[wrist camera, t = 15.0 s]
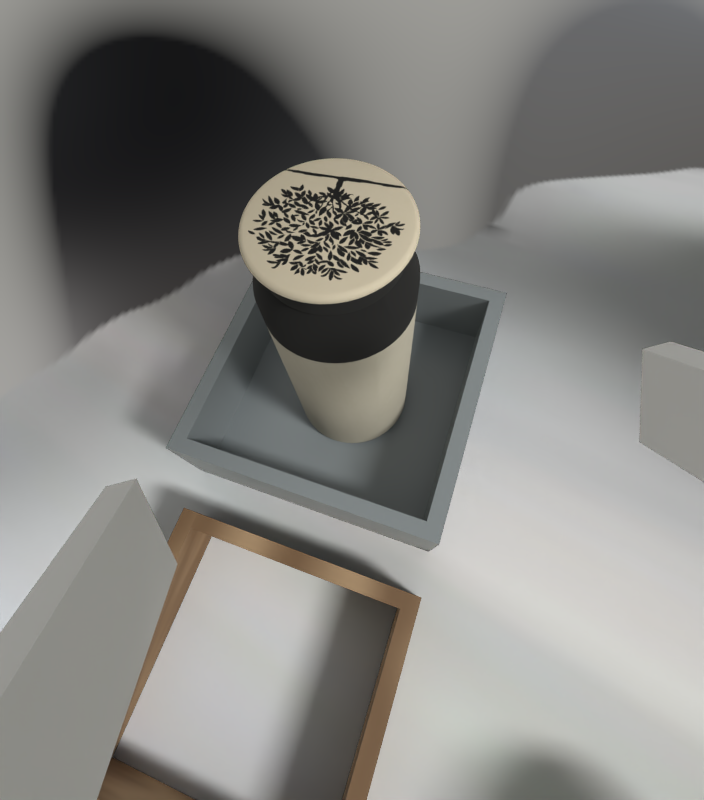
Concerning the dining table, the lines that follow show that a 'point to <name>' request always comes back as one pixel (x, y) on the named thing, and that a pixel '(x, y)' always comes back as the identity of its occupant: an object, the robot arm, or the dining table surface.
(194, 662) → the dining table surface
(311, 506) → the slate bin
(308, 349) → the travel mug
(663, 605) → the dining table surface
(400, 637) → the walnut frame
